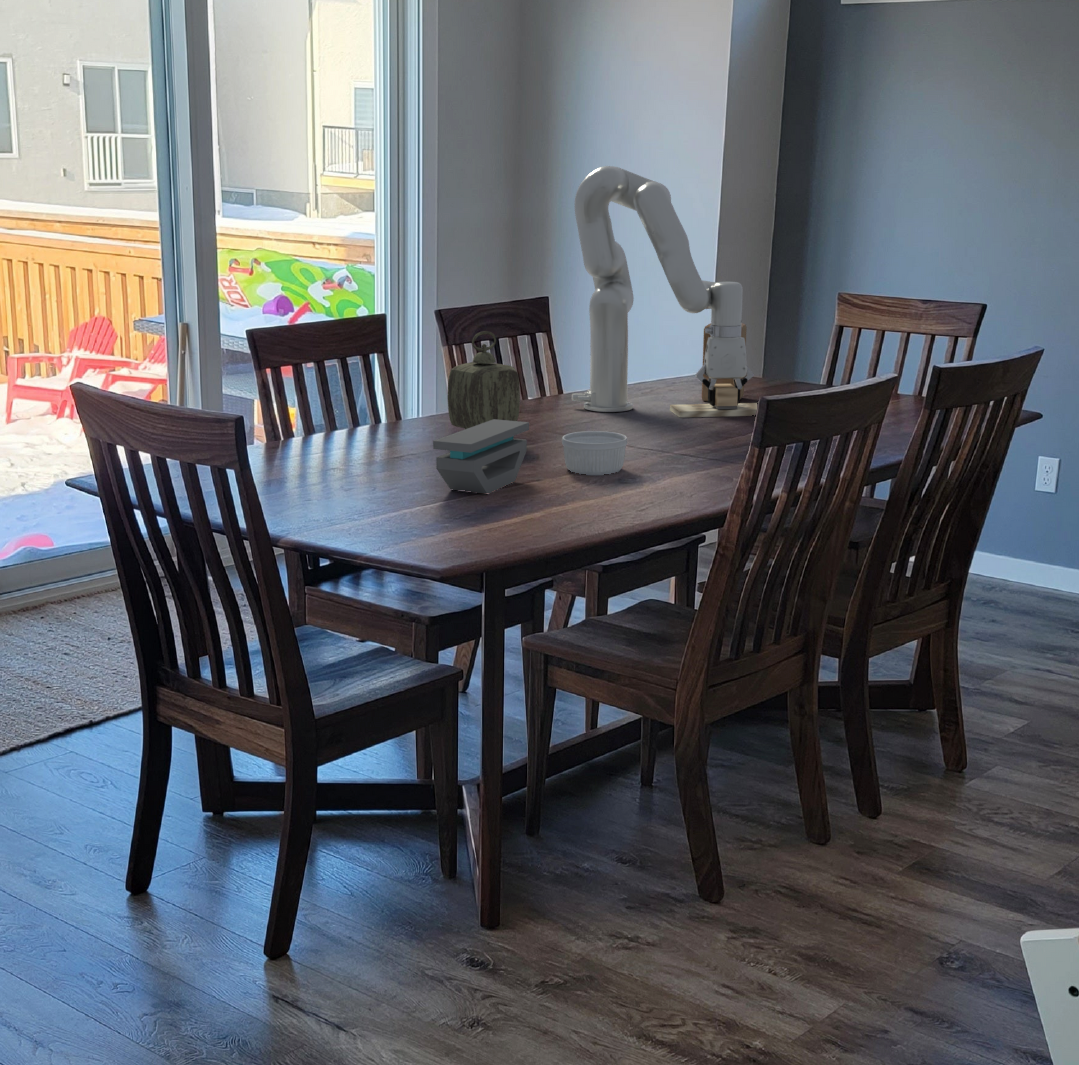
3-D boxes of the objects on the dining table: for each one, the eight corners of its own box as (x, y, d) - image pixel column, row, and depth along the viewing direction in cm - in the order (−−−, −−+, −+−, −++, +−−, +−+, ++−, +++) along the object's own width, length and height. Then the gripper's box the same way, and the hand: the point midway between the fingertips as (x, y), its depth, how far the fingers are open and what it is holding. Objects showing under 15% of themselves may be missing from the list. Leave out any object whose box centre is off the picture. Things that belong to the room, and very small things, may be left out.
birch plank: (679, 417, 338) (679, 411, 337) (669, 410, 347) (670, 404, 347) (773, 415, 341) (773, 409, 340) (761, 408, 350) (761, 402, 350)
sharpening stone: (494, 472, 276) (493, 419, 274) (529, 475, 273) (529, 422, 270) (434, 498, 254) (433, 440, 252) (471, 502, 251) (470, 444, 248)
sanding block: (737, 409, 339) (737, 389, 338) (717, 409, 339) (717, 389, 338) (729, 403, 348) (730, 383, 347) (710, 403, 348) (710, 383, 346)
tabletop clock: (496, 436, 313) (495, 327, 306) (523, 442, 306) (523, 330, 300) (448, 445, 303) (446, 332, 296) (475, 451, 297) (474, 336, 290)
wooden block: (700, 401, 361) (703, 325, 356) (707, 395, 370) (709, 321, 365) (738, 403, 358) (741, 327, 353) (744, 397, 367) (747, 323, 362)
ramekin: (572, 479, 271) (572, 444, 269) (553, 465, 283) (554, 432, 281) (635, 475, 274) (636, 441, 272) (614, 462, 286) (615, 429, 285)
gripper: (696, 334, 334) (694, 408, 339) (763, 333, 336) (760, 406, 341) (688, 331, 341) (686, 403, 346) (754, 330, 344) (752, 401, 348)
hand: (723, 403), depth 343 cm, fingers closed on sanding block, 5 cm apart
